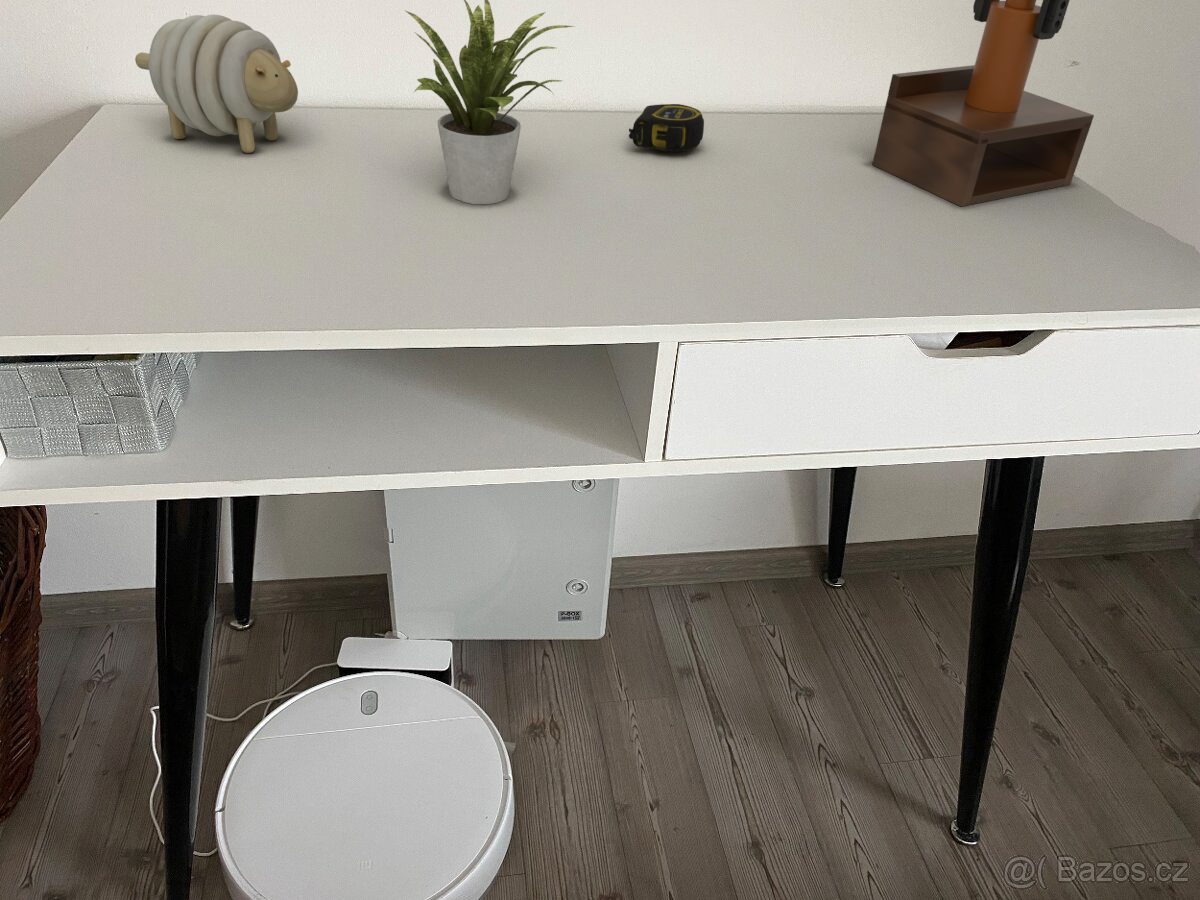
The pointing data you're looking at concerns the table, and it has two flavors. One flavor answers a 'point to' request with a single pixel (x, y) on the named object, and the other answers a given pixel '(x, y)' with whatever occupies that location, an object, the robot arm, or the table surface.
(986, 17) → the robot arm
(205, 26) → the toy sheep
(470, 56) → the house plant
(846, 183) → the table surface
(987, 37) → the bottle
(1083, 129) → the box
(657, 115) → the tape measure
